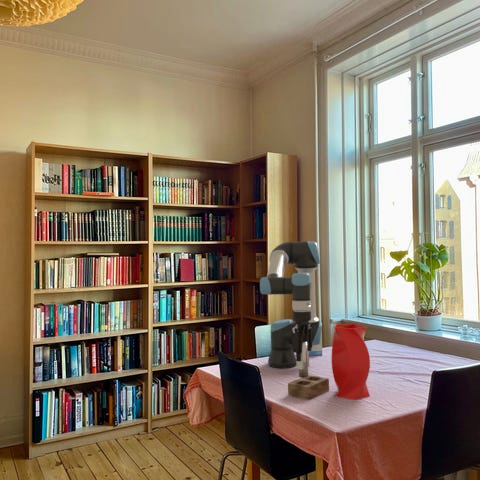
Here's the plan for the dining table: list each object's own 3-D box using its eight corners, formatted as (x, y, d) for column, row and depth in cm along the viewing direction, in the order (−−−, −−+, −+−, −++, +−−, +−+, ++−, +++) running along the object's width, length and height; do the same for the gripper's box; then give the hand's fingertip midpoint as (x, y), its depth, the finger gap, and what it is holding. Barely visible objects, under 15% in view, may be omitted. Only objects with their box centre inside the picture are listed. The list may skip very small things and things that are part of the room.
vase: (345, 401, 180) (343, 329, 181) (324, 392, 193) (323, 324, 194) (376, 396, 186) (374, 326, 187) (354, 387, 199) (352, 322, 200)
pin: (296, 376, 189) (295, 342, 190) (301, 374, 192) (300, 340, 193) (304, 378, 187) (303, 343, 187) (310, 376, 190) (309, 341, 191)
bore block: (288, 395, 190) (287, 383, 190) (308, 386, 202) (308, 374, 202) (309, 399, 183) (308, 387, 183) (329, 390, 196) (328, 378, 196)
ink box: (322, 355, 263) (321, 332, 263) (307, 355, 263) (307, 332, 263) (320, 352, 271) (319, 329, 272) (305, 352, 271) (305, 329, 272)
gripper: (298, 313, 182) (299, 373, 181) (320, 309, 195) (321, 365, 194) (282, 312, 187) (283, 370, 186) (304, 308, 200) (306, 362, 199)
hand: (303, 367), depth 190 cm, fingers closed on pin, 4 cm apart
